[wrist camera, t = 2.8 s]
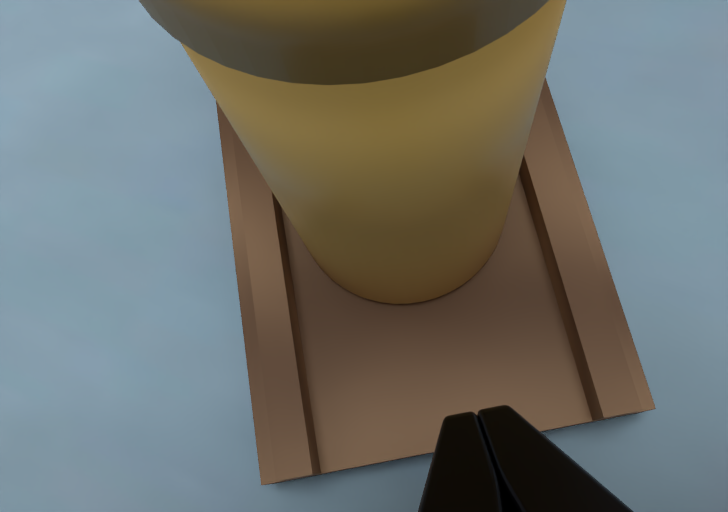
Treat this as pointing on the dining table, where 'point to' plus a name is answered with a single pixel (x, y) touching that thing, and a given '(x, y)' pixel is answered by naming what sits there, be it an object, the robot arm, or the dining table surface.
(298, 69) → the tan cylinder
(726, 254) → the dining table surface
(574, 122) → the dining table surface
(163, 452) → the dining table surface
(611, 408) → the rail
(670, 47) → the dining table surface
